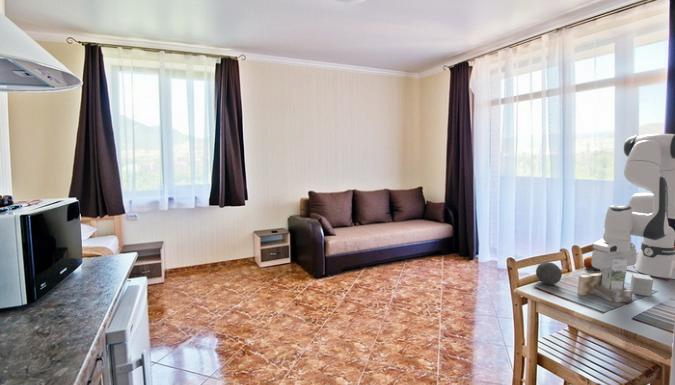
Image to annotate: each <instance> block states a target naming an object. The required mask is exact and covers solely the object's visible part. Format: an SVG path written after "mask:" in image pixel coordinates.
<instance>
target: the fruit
mask: <svg viewBox="0 0 675 385" xmlns="http://www.w3.org/2000/svg"><path fill="white" fill-rule="evenodd" d="M583 265H584V268H585V269H587V270H590V271H599V272H601V269H597V268H594V267H593V266H592V255H591V256H588V257H585V258H584V259H583Z"/></svg>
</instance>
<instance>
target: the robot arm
mask: <svg viewBox="0 0 675 385" xmlns="http://www.w3.org/2000/svg"><path fill="white" fill-rule="evenodd" d="M623 153H624V155H625V156H626V157H627V159H626V162H625V165H624V170H623V175H624V177H625V179H626V180H627V181H628V182H629V183H630V184H632V185H634V186H636V187H638V188H641V189H644V190H646V191H649V192H640V193H639V192H638V193H634V194H633V195H631V197H630V198H629V200H628V205H627V204H612V205H610V206H609V207H608V208H607V211H606V215H605V219H604V232H603V236H602V238H601V239H600V240H597V241H596V242H594V243H592V248H593V251H592V254H591V256H592V266H593V267H594V268H597V269H601V270H600V273H602V277H603V278H609V274H608V273H607V271H608V268H612V267H613V260H614V259H619V258H625V259H626V260H627V268H628V267H629V266H631V267H633V268H635V269H634V270H635V271H637V272H639V273H640V274H643V275H649V276H650V277H651V276H652V277H657V278H664V279H665V278H666V279H672V280H675V230H674V228H673V227H671V226H669V225H670V224H669V221H668V219H673V220H675V133H655V134H644V135H639V134H638V135H633V136H630V137H629V138H627V139H626V140H625V142H624V145H623ZM631 236H635V237H640V238H642V242H641V244H640V251H638V252H637V249H636V245H635V244H634V243H633V242H632V237H631ZM627 268H626V270H627Z"/></svg>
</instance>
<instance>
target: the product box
mask: <svg viewBox="0 0 675 385" xmlns="http://www.w3.org/2000/svg"><path fill="white" fill-rule="evenodd" d="M653 283H654V279H653V278H652V277H651V275H647V274H643V273H633V272H632V273H631V280H630V287H629V289H631V290H633V293H632V295H640V296H647V297H652V294H653V286H654V284H653Z"/></svg>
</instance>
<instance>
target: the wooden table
mask: <svg viewBox="0 0 675 385" xmlns="http://www.w3.org/2000/svg"><path fill="white" fill-rule="evenodd" d="M601 273H602V272H596V273H590V274H582V275H578V280H577V281H578V282H577V295H579V294H580V296H590V295H595V296H596V297H597V296H598V298H599V297H600V298H602V299H605V300H607V301H609V302H612V303H614V304H615V303H620V302H627V301H631V300H632V299H633V290H631V289H630V288H628V287H625V286H624V290H623V291H617V292H613V291H611V290H608V289H606V288H603V287H601V286H600V281H601Z"/></svg>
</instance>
